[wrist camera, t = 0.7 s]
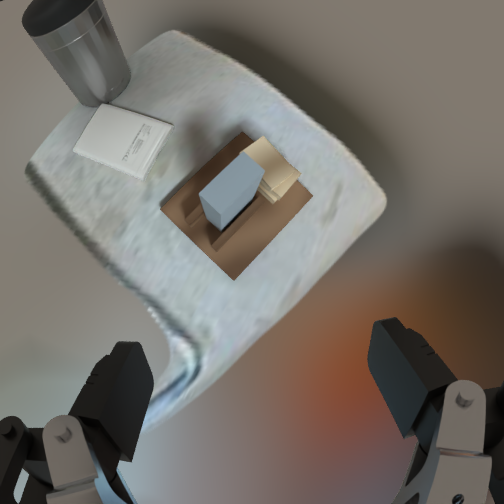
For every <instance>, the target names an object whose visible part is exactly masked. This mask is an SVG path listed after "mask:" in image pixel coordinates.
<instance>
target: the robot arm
mask: <svg viewBox="0 0 504 504" xmlns="http://www.w3.org/2000/svg"><path fill="white" fill-rule="evenodd" d="M0 1H3V0H0ZM22 24H23V27H24V28H25V30H26V31H27V33H29V35H30V37H31V38H32V39H33V41H34V42H35V43H36V45H37V46H38V48H39V49H40V50H41V51H42V53H43V54H44V55H45V57H46V58H47V60H48V61H49V62H50V63H51V65H52V66H53V67H54V69H55V70H56V71H57V73H58V74H59V75H60V77H61V78H62V79H63V81H64V82H65V83H66V85H67V86H68V87H69V88H70V90H71V91H72V92H73V94H74V95H75V96H76V97H77V99H78V100H79V101H80V102H81V103H82V104H83V105H85V106H88V107H96V106H100V105H101V104H102V103H104V104H106V103H108V102H110V101H111V100H113V99H114V98H116V97H117V96H118V95H119V94H120V93H121V92H122V91H123V90H124V89H125V88H126V86H127V84H128V83H129V80H130V77H131V72H130V68H129V66H128V64H127V61H126V59H125V56H124V54H123V51H122V49H121V46H120V44H119V42H118V39H117V36H116V34H115V32H114V29H113V26H112V24H111V21H110V19H109V16H108V14H107V11H106V8H105V6H104V4H103V1H102V0H33V1H32V2H31V4H30V5H29V6H28V8H27V9H26V11H25V12H24V14H23V17H22ZM368 367H369V370H370V372H371V374H372V376H373V378H374V380H375V382H376V384H377V386H378V388H379V390H380V392H381V394H382V395H383V398H384V400H385V401H386V403H387V406H388V407H389V409H390V412H391V414H392V415H393V418H394V419H395V422H396V424H397V426H398V428H399V430H400V432H401V434H402V436H403V438H404V439H406V438H408V437H411V436H414V435H416V437H417V438H418V442H417V443H416V445H415V448H414V452H413V455H412V458H411V461H410V464H409V467H408V470H407V473H406V475H405V478H404V480H403V483H402V486H401V488H400V490H399V492H398V494H397V496H396V497H395V499H394V500H393V502H392V503H391V504H485V501H486V497H487V492H488V488H489V490H490V492H491V494H492V497H493V499H494V502H495V504H504V381H503V383H502V385H501V387H496V388H491V389H485V390H482V389H481V387H480V386H479V385H477V384H476V383H474V382H471V381H468V380H459V381H458V380H457V378H456V377H455V376H454V374H453V373H452V372H451V371H450V369H449V368H448V367H447V366H446V364H445V363H444V362H443V361H442V359H441V358H440V357H439V356H438V354H435V351H434V350H433V348H432V347H431V346H429V344H428V343H427V341H426V340H425V339H424V338H423V336H422V335H420V334H419V333H417V332H415V331H414V330H412V329H410V328H408V329H406V328H405V327H404V326H403V324H402V323H401V322H400V321H399V320H398V319H397V318H396V317H393V318H389V319H383V320H378V321H375V322H374V324H373V329H372V335H371V340H370V346H369V351H368ZM153 387H154V380H153V375H152V372H151V369H150V367H149V364H148V362H147V359H146V356H145V354H144V351H143V348H142V346H141V344H140V343H139V342H124V341H121V342H120V341H119V342H117V343H116V345H115V347H114V348H113V350H112V352H111V353H110V355H106V356H105V357H103V358H102V359H101V360H100V361H99V362H98V363H96V365H95V367H94V368H93V370H92V372H91V376H89V377H88V379H87V381H86V384H85V385H84V386H83V388H82V389H81V391H80V393H79V395H78V397H77V399H76V401H75V403H74V404H73V406H72V408H71V410H70V412H69V414H68V415H61V416H57V417H55V418H53V419H51V420H50V421H49V422H48V423H47V424H46V426H45V427H44V428H27V427H26V426H25V424H24V423H23V422H22V421H21V419H19V418H18V417H16V416H8V417H6V418H4V419H2V420H1V421H0V504H18V503H17V502H16V501H15V499H14V494H13V493H14V489H15V486H16V483H17V480H18V478H19V475H20V472H21V470H22V468H23V469H24V470H25V471H26V472H28V474H29V477H28V480H27V483H26V486H25V488H24V492H23V494H22V498H21V501H20V502H19V504H137V502H136V500H135V498H134V497H133V495H132V493H131V491H130V489H129V488H128V486H127V484H126V482H125V480H124V478H123V476H122V474H121V472H120V471H119V469H118V468H117V466H118V463H119V460H122V461H127V462H132V459H133V455H134V452H135V448H136V444H137V441H138V438H139V434H140V431H141V428H142V424H143V421H144V418H145V414H146V411H147V408H148V404H149V401H150V398H151V395H152V392H153Z"/></svg>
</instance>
